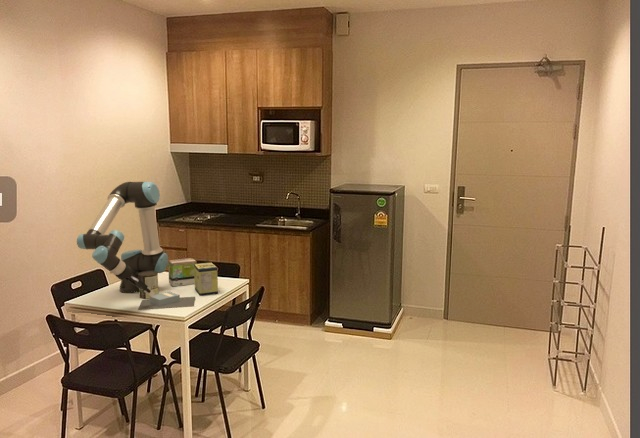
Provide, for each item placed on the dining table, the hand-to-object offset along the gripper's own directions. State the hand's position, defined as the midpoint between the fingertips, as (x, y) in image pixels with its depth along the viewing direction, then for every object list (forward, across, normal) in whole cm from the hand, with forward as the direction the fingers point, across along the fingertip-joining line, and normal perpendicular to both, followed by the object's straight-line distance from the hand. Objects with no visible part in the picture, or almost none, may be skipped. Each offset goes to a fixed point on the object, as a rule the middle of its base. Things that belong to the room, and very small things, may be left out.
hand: (152, 294), depth 262 cm
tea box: (+29, -28, +20) cm, 45 cm away
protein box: (+29, -2, +20) cm, 35 cm away
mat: (+9, +3, 0) cm, 9 cm away
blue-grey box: (+3, 0, -2) cm, 4 cm away
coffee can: (+9, -16, 0) cm, 18 cm away
